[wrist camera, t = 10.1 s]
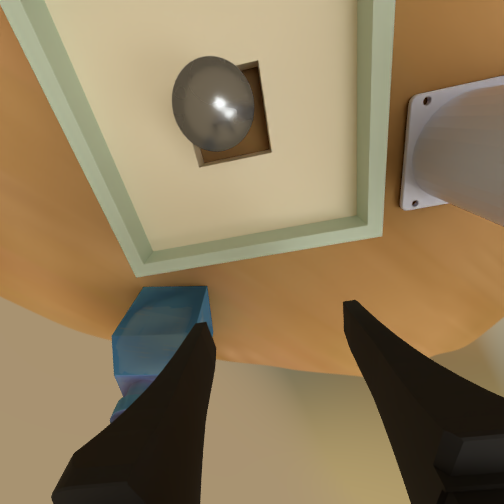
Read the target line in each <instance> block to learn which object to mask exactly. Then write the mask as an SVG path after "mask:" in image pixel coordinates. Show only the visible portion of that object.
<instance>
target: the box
mask: <svg viewBox="0 0 504 504" xmlns="http://www.w3.org/2000/svg"><path fill="white" fill-rule="evenodd" d="M0 5H1V7H2V9H3V11H4V13H5V15H6V17H7V19H8V21H9V23H10V25H11V27H12V29H13V31H14V33H15V35H16V37H17V39H18V41H19V43H20V45H21V47H22V49H23V51H24V53H25V55H26V57H27V59H28V61H29V63H30V65H31V67H32V69H33V71H34V73H35V75H36V77H37V79H38V81H39V83H40V85H41V87H42V89H43V91H44V93H45V95H46V97H47V99H48V101H49V103H50V105H51V107H52V109H53V111H54V113H55V115H56V117H57V119H58V121H59V123H60V125H61V127H62V129H63V131H64V133H65V135H66V137H67V139H68V141H69V143H70V145H71V147H72V149H73V151H74V153H75V156H76V158H77V160H78V162H79V164H80V166H81V168H82V170H83V172H84V174H85V176H86V178H87V180H88V182H89V184H90V186H91V188H92V190H93V192H94V194H95V196H96V198H97V200H98V202H99V204H100V206H101V208H102V210H103V212H104V214H105V216H106V218H107V220H108V222H109V224H110V226H111V228H112V230H113V232H114V234H115V236H116V238H117V240H118V242H119V244H120V246H121V248H122V250H123V252H124V254H125V256H126V258H127V260H128V262H129V264H130V266H131V268H132V270H133V272H134V274H135V276H136V278H137V277H143V276H149V275H154V274H160V273H166V272H172V271H178V270H184V269H190V268H196V267H202V266H208V265H214V264H220V263H226V262H232V261H238V260H244V259H249V258H255V257H261V256H267V255H273V254H279V253H285V252H291V251H297V250H303V249H309V248H315V247H321V246H327V245H333V244H339V243H344V242H350V241H356V240H362V239H368V238H374V237H380V236H382V231H383V213H384V196H385V178H386V160H387V142H388V124H389V107H390V89H391V71H392V53H393V36H394V18H395V0H0ZM204 56H216V57H220V58H223V59H226V60H228V61H229V62H231V63H233V64H234V65H235V66H236V67H238V68H239V70H240V71H242V70H246V69H250V68H254V67H258V72H259V79H260V85H261V92H262V99H263V105H264V112H265V119H266V125H267V132H268V139H269V145H270V149H269V150H264V151H260V152H255V153H250V154H245V155H241V156H236V157H231V158H226V159H221V160H217V161H212V162H207V163H204V160H203V157H202V153H201V149H200V147H198V146H196V145H194V144H193V143H192V142H190V141H189V140H188V139H187V138H186V137H185V135H184V134H183V133H182V132H181V130H180V128H179V127H178V125H177V122H176V120H175V117H174V114H173V109H172V92H173V87H174V84H175V81H176V79H177V76H178V75H179V73H180V72H181V70H182V69H183V68H184V67H185V66H186V65H187V64H188V63H190V62H191V61H193V60H195V59H197V58H200V57H204Z"/></svg>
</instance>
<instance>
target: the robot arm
mask: <svg viewBox="0 0 504 504" xmlns="http://www.w3.org/2000/svg"><path fill="white" fill-rule="evenodd" d="M425 97H427V98H428V101H427V103H426V105H424V104H423V100H424V99H425ZM415 200H416V203H415V204H414V205H412V202H413V201H415ZM447 203H450V204H452V205H455V206H457V207H459V208H462V209H464V210H466V211H469V212H471V213H473V214H476V215H478V216H480V217H483V218H485V219H487V220H490V221H492V222H494V223H497V224H499V225H501V226H504V75H503V76H499V77H494V78H489V79H485V80H480V81H476V82H471V83H466V84H462V85H457V86H453V87H448V88H443V89H439V90H434V91H430V92H425V93H420V94H416V95H414V96H413V97H412V98H411V99H410V101H409V104H408V115H407V127H406V138H405V150H404V161H403V173H402V184H401V196H400V207H401V208H402V209H403V210H413V209H419V208H425V207H430V206H436V205H442V204H447ZM343 314H344V332H345V335H346V338H347V341H348V344H349V347H350V350H351V352H352V354H353V356H354V358H355V360H356V362H357V364H358V367H359V369H360V371H361V373H362V375H363V377H364V379H365V381H366V383H367V385H368V387H369V389H370V391H371V394H372V396H373V398H374V400H375V403H376V405H377V408H378V411H379V413H380V416H381V419H382V421H383V424H384V426H385V429H386V432H387V435H388V438H389V440H390V443H391V446H392V449H393V452H394V455H395V457H396V460H397V463H398V466H399V469H400V471H401V475H402V478H403V481H404V484H405V486H406V490H407V493H408V496H409V499H410V502H411V504H504V397H501V396H499V395H497V394H495V393H492V392H490V391H488V390H486V389H484V388H482V387H480V386H478V385H476V384H474V383H472V382H470V381H468V380H466V379H464V378H462V377H460V376H459V375H457V374H455V373H453V372H452V371H450V370H448V369H446V368H444V367H443V366H441V365H439V364H438V363H436V362H434V361H433V360H431V359H429V358H428V357H426V356H425V355H423V354H422V353H420V352H419V351H417V350H416V349H414V348H413V347H412V346H410V345H409V344H407V343H406V342H405V341H403V340H402V339H401V338H399V337H398V336H397V335H395V334H394V333H393V332H392V331H390V330H389V329H388V328H387V327H386V326H384V325H383V324H382V323H381V322H380V321H378V320H377V319H376V318H375V317H374V316H373V315H372V314H370V313H369V312H368V311H367V310H366V309H365V308H364V307H363V306H362V305H361V304H360V303H359V302H358V301H356V300H352V301H345V302H343ZM215 361H216V346H215V344H214V341H213V338H212V336H211V333H210V330H209V328H208V325H207V322H201V323H195V325H194V326H193V328H192V329H191V330H190V332H189V333H188V335H187V336H186V338H185V339H184V341H183V342H182V344H181V345H180V347H179V348H178V350H177V351H176V352H175V354H174V355H173V357H172V358H171V359H170V361H169V362H168V363H167V365H166V366H165V367H164V369H163V370H162V371H161V372H160V374H159V375H158V376H157V377H156V379H155V380H154V381H153V382H152V383H151V384H150V385H149V387H148V388H147V389H146V390H145V391H144V392H143V393H142V394H141V395H140V396H139V397H138V398H137V399H136V400H135V401H134V402H133V403H132V404H131V405H130V406H129V407H128V408H127V409H126V410H125V411H124V412H123V413H122V414H121V415H120V416H119V417H118V418H116V419H115V420H114V421H113V422H112V423H111V424H110V425H108V426H107V427H106V428H105V429H104V430H103V431H101V432H100V433H99V434H98V435H97V436H95V437H94V438H93V439H92V440H90V441H89V442H88V443H87V444H85V445H84V446H83V447H81V448H80V449H79V450H77V451H76V452H75V453H74V454H73V456H72V458H71V460H70V461H69V463H68V465H67V467H66V469H65V471H64V472H63V474H62V476H61V478H60V480H59V482H58V484H57V486H56V487H55V489H54V491H53V493H52V496H51V498H52V501H53V504H200V494H201V474H202V459H203V445H204V434H205V422H206V414H207V409H208V404H209V398H210V393H211V388H212V382H213V377H214V371H215Z"/></svg>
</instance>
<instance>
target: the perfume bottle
mask: <svg viewBox="0 0 504 504" xmlns="http://www.w3.org/2000/svg"><path fill="white" fill-rule="evenodd" d="M201 322H207V325H208V328H209V330H210V333H211V336H212V337H213V327H212V319H211V312H210V304H209V296H208V289H207V286H176V287H143V289H142V290H141V292H140V293H139V295H138V296H137V298H136V299H135V301H134V302H133V304H132V305H131V307H130V309H129V310H128V312H127V313H126V315H125V316H124V318H123V319H122V321H121V322H120V324H119V325H118V327H117V329H116V330H115V332H114V333H113V335H112V348H113V363H114V364H113V366H114V376H115V379H116V381H117V383H118V385H119V388H120V390H121V392H122V395H123V398H121V399H120V400H119V401H118V403H117V405H116V407H115V409H114V412H113V414H112V416H111V418H110V423H112V422H113V421H114V420H115V419H116V418H118V417H119V416H120V415H121V414H122V413H123V412H124V411H125V410H126V409H127V408H128V407H129V406H130V405H131V404H132V403H133V402H134V401H135V400H136V399H137V398H138V397H139V396H140V395H141V394H142V393H143V392H144V391H145V390H146V389H147V388H148V387H149V385H150V384H151V383H152V382H153V381H154V380H155V379H156V377H157V376H158V375H159V374H160V372H161V371H162V370H163V369H164V367H165V366H166V365H167V363H168V362H169V361H170V359H171V358H172V357H173V355H174V354H175V352H176V351H177V350H178V348H179V347H180V345H181V344H182V342H183V341H184V339H185V338H186V336H187V335H188V333H189V332H190V330H191V329H192V328H193V326H194V325H195V323H201Z"/></svg>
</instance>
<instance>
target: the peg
mask: <svg viewBox="0 0 504 504" xmlns="http://www.w3.org/2000/svg"><path fill="white" fill-rule="evenodd" d="M172 109H173V114H174V117H175V120H176V122H177V125H178V127H179V128H180V130H181V132H182V133H183V134H184V135H185V137H186V138H187V139H188V140H189V141H190V142H192V143H193V144H194V145H196V146H198V147H200V148H202V149H205V150H208V151H224V150H227V149H230V148H232V147H234V146H236V145H237V144H238V143H240V142H241V141H242V140H243V138H244V137H245V136H246V134H247V133H248V131H249V129H250V127H251V124H252V121H253V116H254V98H253V93H252V90H251V87H250V85H249V82H248V81H247V79H246V77H245V76H244V74H243V73H242V72H241V71H240V70H239V68H238V67H236V66H235V65H234V64H233V63H231V62H229V61H228V60H226V59H223V58H220V57H216V56H204V57H200V58H197V59H195V60H193V61H191V62H190V63H188V64H187V65H186V66H185V67H184V68H183V69H182V70H181V72H180V73H179V75H178V76H177V79H176V81H175V84H174V87H173V92H172Z"/></svg>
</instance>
